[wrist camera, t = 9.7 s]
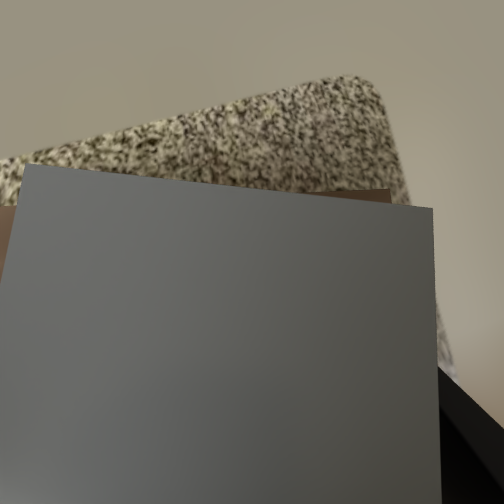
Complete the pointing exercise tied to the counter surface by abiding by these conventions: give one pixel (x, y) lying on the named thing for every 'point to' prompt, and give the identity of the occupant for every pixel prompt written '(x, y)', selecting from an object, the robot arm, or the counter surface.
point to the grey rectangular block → (215, 346)
